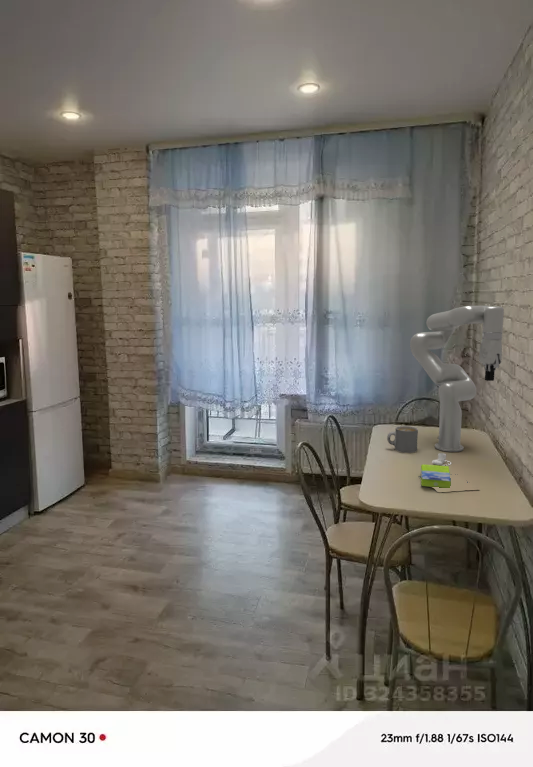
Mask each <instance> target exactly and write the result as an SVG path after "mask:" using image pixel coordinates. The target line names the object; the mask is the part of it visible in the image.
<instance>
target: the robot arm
mask: <svg viewBox="0 0 533 767" xmlns="http://www.w3.org/2000/svg"><path fill="white" fill-rule="evenodd" d="M504 314H505V310H504V307H503V306H499V305H498V306H496V305H495V306H489V305H466V306H465V305H464V306H460V307H455V308H452V309H451V310H447V311H441V312H437V313H433V314H431V315H430V316H428V317H427V319H426V321H425V322H426V327H427V328H428V329H429V330H430V331H426V332H425V331H424V332H417V333H415V334H414V335H413V336H411V338H410V342H409V346H410V351H411V354H412V356H413V357H414V358H415V360H416V361H417V362H418V364H419V365H420V366H421V367H422V368H423V370H424V371H425V372H426V374H427V375H428V377H429V378H430V380H431V381H432V382H433V383H434V384H435V385H440V386H439V387H438V398H439V424H438V426H439V427H438V428H439V429H438V436H437V439H438V442H437V443H435V444H434V448H435V449H436V450H439V451H443V452H450V453H457V452H458V453H459V452H463V450H464V448H465V447H464V445H462V444H461V438H462V437H461V433H462V418H463V417H462V414H463V410H462V408H461V406H460V403H459V402H462V401H463V402H466V401H470V400H472V399H474V398H475V397H476V396H477V387H476V384H475V383H474V381H473V380H472V379H471V377H470V376H469V375H468V373H467V372H466V371H465V369H463V367H461V365H459V364H458V363H444V362H443V361H442V360H441V359H440V357H439V356H438V355H437V354H436V353H434V352H432V350H440V349H443V348H444V347H445V346H446V345H447V344H448V343H449V341H450V339H451V337H452V335H454V332H455V330H457V329H458V328H459V327H460V326H463V325H471V324H472V325H473V324H482V338H481V341H480V345H479V353H478V354H479V355H478V362H479V363H481V365H482V366H484V380H485V381H487V382H491V381H494V380H495V372H496V371H497V370H496V369H498V368H499V367H500V364H501V363H502V359H503V357H502V356H503V344H502V342H503V330H504V329H503V328H504Z"/></svg>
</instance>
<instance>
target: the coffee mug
mask: <svg viewBox="0 0 533 767" xmlns="http://www.w3.org/2000/svg"><path fill="white" fill-rule="evenodd" d="M418 430H419V429H418V427H415V426H411V425H409V426H408V425H399V426H395V430H394V431H389V432H388V433H387V438H386V439H387V442H388V444H390V445H393V446H394V450H395V451H397V452H399V453H404V454H405V453H407V454H409V453H410V454H411V453H412V454H413V453H417V451H418V435H419V431H418ZM392 436H394V440H391V437H392Z"/></svg>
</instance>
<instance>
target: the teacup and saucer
mask: <svg viewBox="0 0 533 767" xmlns="http://www.w3.org/2000/svg"><path fill="white" fill-rule="evenodd" d="M446 461H447V462H446ZM445 462H446V463H447V464H448V465H447V466H450V465H452V462H451V461H450V460H447V454H446V453H438V454H437V459H433V460H432V461H431V463H432V464H433V465H439V466H445V465H446V464H445ZM448 462H450V464H449V463H448Z"/></svg>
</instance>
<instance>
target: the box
mask: <svg viewBox="0 0 533 767" xmlns="http://www.w3.org/2000/svg"><path fill="white" fill-rule="evenodd" d="M450 475H451V473H450V465H446V466H443V465H436V464H421V465H420V476H421V479H420V485H421V486H422V487H429V488H431V487H439V488H450V486H451V478H450Z"/></svg>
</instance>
